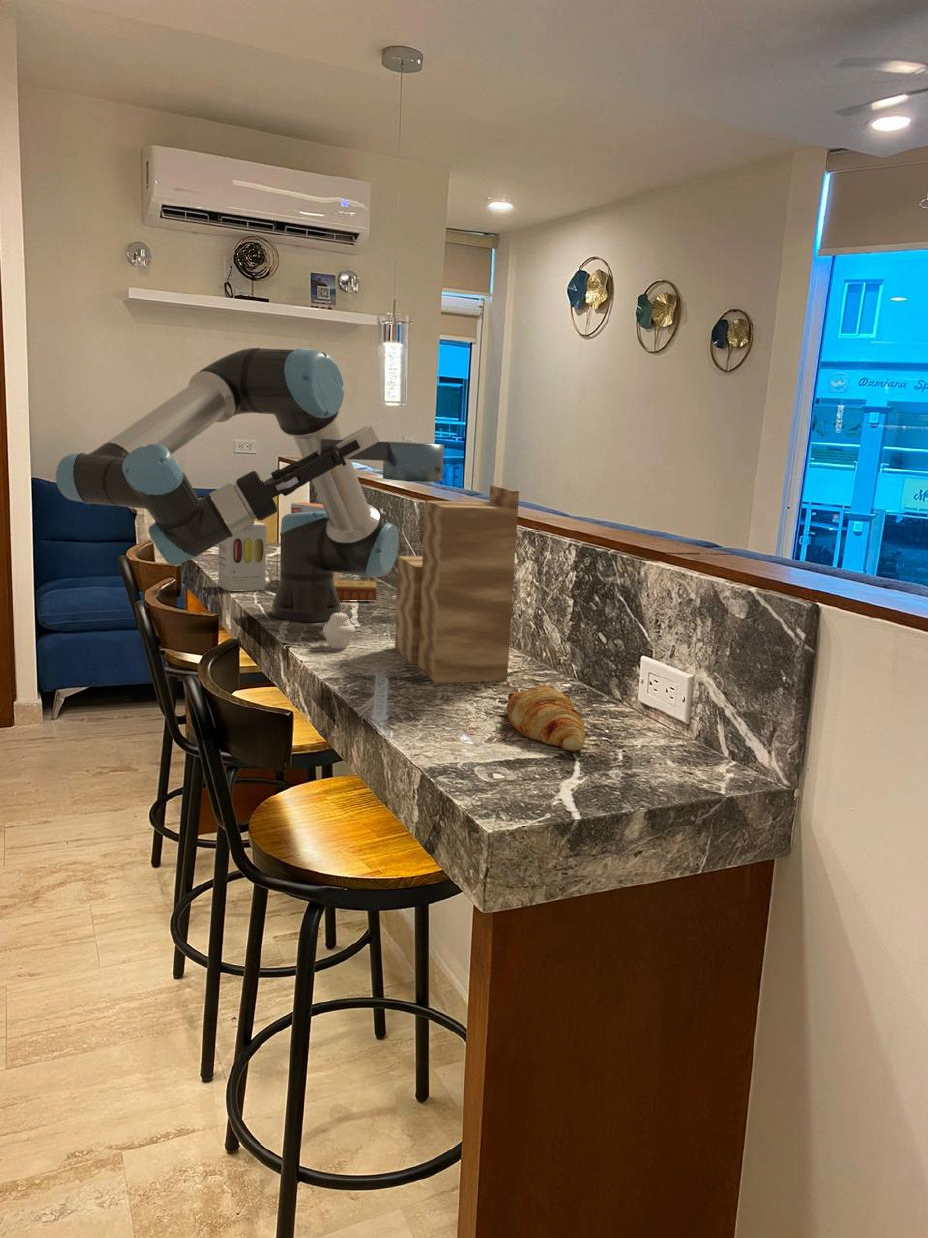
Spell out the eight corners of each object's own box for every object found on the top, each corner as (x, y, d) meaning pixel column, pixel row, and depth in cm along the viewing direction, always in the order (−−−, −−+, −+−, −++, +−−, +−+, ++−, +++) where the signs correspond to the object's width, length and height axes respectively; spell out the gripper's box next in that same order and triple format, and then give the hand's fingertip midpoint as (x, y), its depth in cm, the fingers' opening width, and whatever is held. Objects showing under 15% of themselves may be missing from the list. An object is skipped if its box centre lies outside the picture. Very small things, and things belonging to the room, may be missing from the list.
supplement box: (229, 592, 230) (229, 524, 226) (217, 586, 237) (217, 520, 234) (266, 590, 235) (267, 523, 232) (253, 584, 242) (253, 519, 239)
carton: (376, 603, 228) (376, 586, 227) (309, 601, 226) (309, 584, 225) (376, 597, 236) (376, 580, 235) (311, 595, 234) (312, 578, 233)
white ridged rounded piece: (320, 643, 184) (321, 608, 182) (352, 643, 185) (353, 608, 184) (324, 651, 178) (325, 615, 176) (356, 650, 179) (357, 615, 178)
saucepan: (314, 474, 157) (314, 437, 156) (433, 478, 164) (434, 443, 162) (323, 478, 148) (324, 439, 147) (449, 482, 154) (451, 445, 153)
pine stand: (395, 647, 184) (401, 477, 177) (463, 645, 188) (471, 479, 181) (430, 683, 160) (438, 488, 153) (507, 680, 164) (519, 491, 157)
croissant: (595, 778, 130) (622, 727, 130) (541, 752, 125) (570, 700, 125) (523, 727, 149) (548, 683, 149) (475, 703, 144) (500, 658, 144)
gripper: (252, 517, 159) (372, 451, 162) (262, 528, 144) (394, 456, 147) (230, 477, 156) (352, 412, 160) (237, 485, 141) (372, 412, 145)
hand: (372, 433), depth 154 cm, fingers closed on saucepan, 3 cm apart
